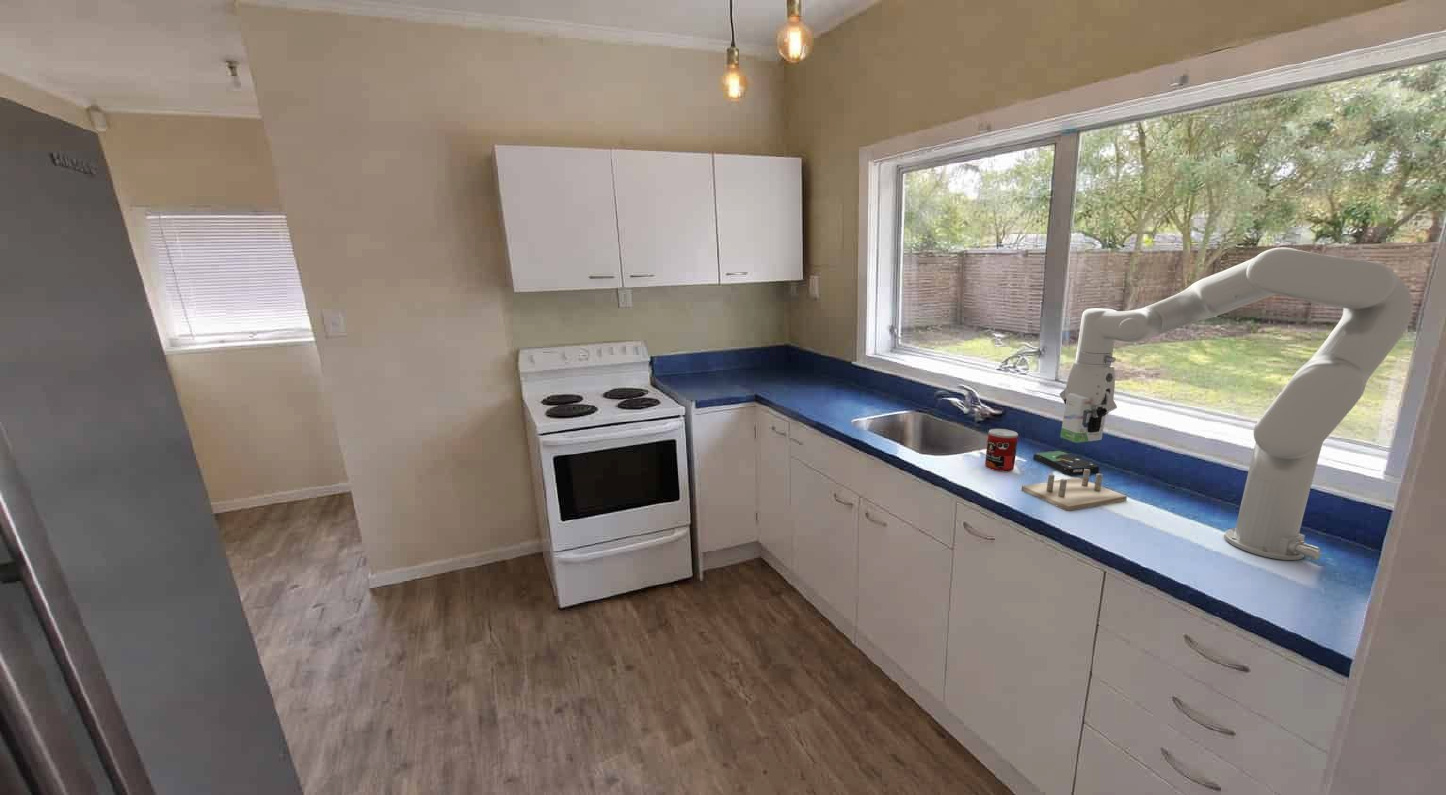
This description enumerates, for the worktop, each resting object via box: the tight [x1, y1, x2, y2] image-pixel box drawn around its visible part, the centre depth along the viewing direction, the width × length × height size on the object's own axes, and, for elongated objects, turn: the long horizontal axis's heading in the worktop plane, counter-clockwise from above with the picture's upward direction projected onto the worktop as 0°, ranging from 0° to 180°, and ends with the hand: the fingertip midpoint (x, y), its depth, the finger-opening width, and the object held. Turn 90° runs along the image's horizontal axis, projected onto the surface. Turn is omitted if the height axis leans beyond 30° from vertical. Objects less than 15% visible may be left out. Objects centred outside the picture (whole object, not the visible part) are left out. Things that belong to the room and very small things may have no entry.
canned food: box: [984, 428, 1019, 472], centre depth 167 cm, size 8×8×11 cm
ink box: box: [1059, 393, 1107, 444], centre depth 143 cm, size 9×5×12 cm, turn 105°
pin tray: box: [1021, 469, 1128, 512], centre depth 147 cm, size 14×20×6 cm
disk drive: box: [1032, 450, 1100, 476], centre depth 170 cm, size 10×3×15 cm
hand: (1082, 428), depth 144 cm, fingers closed on ink box, 5 cm apart
